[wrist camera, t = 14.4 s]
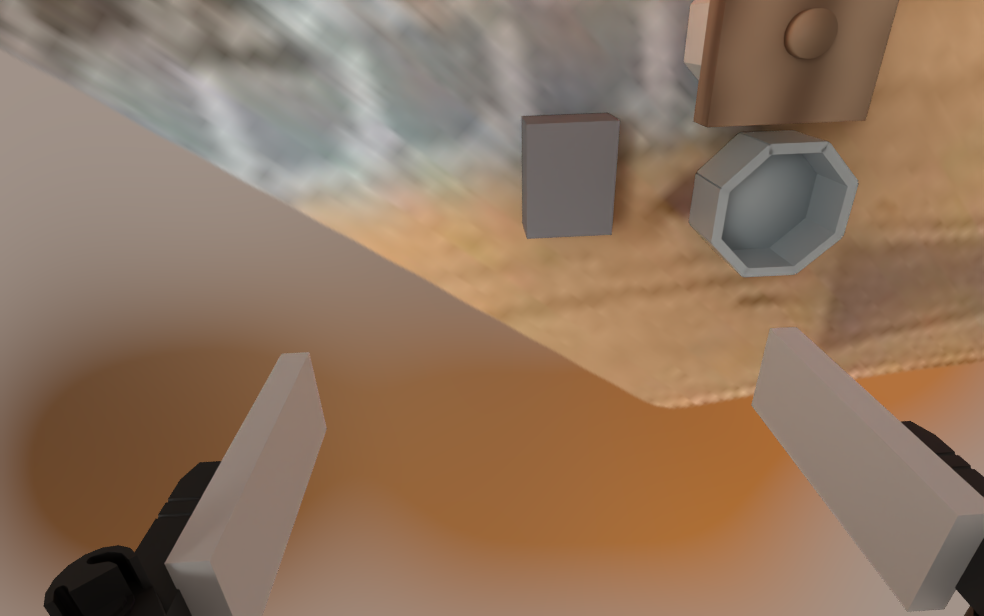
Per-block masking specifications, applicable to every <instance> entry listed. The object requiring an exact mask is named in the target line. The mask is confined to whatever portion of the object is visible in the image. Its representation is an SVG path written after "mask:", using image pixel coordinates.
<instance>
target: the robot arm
mask: <svg viewBox="0 0 984 616" xmlns="http://www.w3.org/2000/svg"><path fill="white" fill-rule="evenodd" d="M752 406H753V408H754V409H755V410H756V412H757V413H758V414H759V416H760V417H761V418H762V420H763V421H764V422H765V424H766V425H767V426H768V428H769V429H770V430H771V431H772V433H773V434H774V436H775V437H776V438H777V440H778V441H779V442H780V443H781V445H782V446H783V448H784V449H785V450H786V452H787V453H788V454H789V456H790V457H791V458H792V459H793V461H794V462H795V464H796V465H797V466H798V468H799V469H800V470H801V472H802V473H803V474H804V476H805V477H806V478H807V480H808V481H809V482H810V484H811V485H812V486H813V487H814V489H815V490H816V491H817V493H818V494H819V495H820V497H821V498H822V499H823V501H824V502H825V503H826V505H827V506H828V507H829V509H830V510H831V511H832V513H833V514H834V515H835V517H836V518H837V519H838V521H839V522H840V523H841V525H842V526H843V527H844V529H845V530H846V531H847V533H848V534H849V535H850V536H851V538H852V539H853V541H854V542H855V543H856V544H857V546H858V547H859V548H860V550H861V551H862V552H863V554H864V555H865V556H866V558H867V559H868V560H869V562H870V563H871V564H872V566H873V567H874V568H875V570H876V571H877V572H878V574H879V575H880V576H881V577H882V579H883V580H884V582H885V583H886V584H887V586H888V587H889V588H890V590H891V591H892V592H893V594H894V595H895V596H896V598H897V599H898V600H899V602H900V603H901V604H902V606H903V607H904V608H905V610H906V611H907V612H910V611H925V610H941V609H945V607H946V606H947V604H948V602H949V600H950V599H951V597H952V595H953V594H954V592H955V590H957V591H958V592H959V593H960V594H961V595H962V597H963V598H964V599H965V600H966V601H967V602H968V603H969V605H970V607H969V608H968V610H967V612H966V613H965V615H964V616H984V477H983V476H982V475H981V474H980V473H978V472H977V471H976V470H975V469H971V466H970V465H969V464H968V463H967V462H966V461H965V460H964V459H962V458H961V457H960V456H958V455H955V452H954V451H953V450H952V449H951V448H950V447H949V446H947V445H946V444H945V443H944V442H943V441H942V440H941V439H939V438H938V437H937V436H936V435H934V434H933V433H931V432H929V431H927V430H925V429H924V428H922V427H920V426H918V425H917V424H915V423H913V422H911V421H903V422H900V421H899V420H898V419H897V418H896V417H894V416H893V415H892V414H891V413H890V412H889V411H888V410H887V409H886V408H884V406H882V405H881V404H880V403H879V402H878V401H877V400H876V399H875V398H874V397H873V396H871V395H870V394H869V393H868V392H867V391H866V390H865V389H864V388H863V387H862V386H861V385H859V384H858V383H857V382H856V381H855V380H854V379H853V378H852V377H851V376H850V375H848V374H847V373H846V372H845V371H844V370H843V369H842V368H841V367H840V366H839V365H837V364H836V363H835V362H834V361H833V360H832V359H831V358H830V357H829V356H828V355H827V354H825V353H824V352H823V351H822V350H821V349H820V348H819V347H818V346H817V345H816V344H814V343H813V342H812V341H811V340H810V339H809V338H808V337H807V336H806V335H805V334H803V333H802V332H801V331H800V330H799V329H798V328H797V327H787V328H770V331H769V335H768V339H767V343H766V347H765V351H764V355H763V360H762V364H761V368H760V372H759V376H758V380H757V384H756V389H755V393H754V397H753V401H752ZM325 432H326V424H325V420H324V415H323V411H322V406H321V402H320V398H319V394H318V389H317V384H316V380H315V376H314V371H313V367H312V363H311V358H310V354H309V352H305V353H286V354H281V356H280V358H279V360H278V361H277V363H276V365H275V367H274V368H273V370H272V372H271V374H270V376H269V377H268V379H267V381H266V383H265V385H264V386H263V388H262V390H261V392H260V393H259V395H258V397H257V399H256V401H255V402H254V404H253V406H252V408H251V409H250V412H249V413H248V415H247V417H246V419H245V420H244V422H243V424H242V426H241V427H240V429H239V431H238V433H237V435H236V436H235V438H234V440H233V442H232V444H231V446H230V447H229V449H228V451H227V452H226V454H225V456H224V458H223V460H222V461H216V462H200V463H199V464H197V465H196V466H195V467H194V468H193V469H192V470H191V471H189V472H188V473H187V474H186V475H185V476H184V477H183V478H182V479H180V481H179V482H178V484H177V486H176V487H175V489H174V490H173V492H172V494H171V495H170V497H169V498H168V503H165V505H164V506H163V508H162V510H161V511H160V513H159V514H158V516H159V517H158V519H155V521H154V522H153V524H152V526H151V527H150V529H149V530H148V532H147V534H146V535H145V537H144V538H143V540H142V541H141V543H140V545H139V546H138V548H137V549H136V551H135V553H134V552H133V550H132V549H131V548H128V547H124V546H119V545H117V546H111V547H104V548H101V549H98V550H95V551H93V552H91V553H88V554H85V555H84V556H82V557H81V558H79V559H78V560H76V561H75V562H73V563H71V564H70V565H68V566H67V567H66V568H65V569H64V570H63V571H62V572H61V573H60V574H59V575H58V576H57V577H56V578H55V579H54V580H53V582H52V584H51V585H50V587H49V588H48V590H47V591H46V593H45V600H44V607H45V609H46V610H47V612H48V613H49V615H50V616H262V615H263V612H264V609H265V606H266V603H267V601H268V597H269V595H270V592H271V589H272V586H273V583H274V580H275V577H276V574H277V571H278V569H279V565H280V563H281V560H282V557H283V554H284V551H285V548H286V545H287V542H288V540H289V537H290V534H291V530H292V528H293V525H294V522H295V519H296V516H297V513H298V510H299V508H300V505H301V502H302V499H303V496H304V493H305V490H306V487H307V484H308V481H309V478H310V475H311V473H312V470H313V467H314V464H315V461H316V458H317V455H318V452H319V449H320V446H321V443H322V441H323V438H324V435H325Z"/></svg>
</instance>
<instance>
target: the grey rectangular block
mask: <svg viewBox="0 0 984 616" xmlns="http://www.w3.org/2000/svg"><path fill="white" fill-rule="evenodd" d="M619 129H620V120H619V119H617V118H615V117H614V116H612V115H611V114H609V113H588V114H565V115H541V116H522V223H523V227H524V230H525V234H526V237H527V239H531V238H552V237H574V236H595V235H612V223H613V209H614V196H615V183H616V169H617V156H618V143H619Z"/></svg>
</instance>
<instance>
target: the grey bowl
mask: <svg viewBox="0 0 984 616" xmlns="http://www.w3.org/2000/svg"><path fill="white" fill-rule="evenodd" d="M697 173H698V174H696V175H695V182H694V189H693V196H692V203H691V209H690V216H689V223H690V226H691V227H692V228H693V229H694V230H695V231H696V232H697V233H698V234H699V235H700V236H701V237H702V238H703V239H704V240H705V242H706V243H707V244H708V245H709V246H710V247H711V248H712V249H713V250H714V251H715V252H716V253H717V254H718V255H719V256H720V257H721V258H722V259H723V260H724V261H725V262H726V263H728V264H729V265H730V266H731V267H732V268H733V269H734V270H735V271H736V272H737V273H739V274H740V275H741V276H743V277H757V276H778V275H795V273H796V274H797V273H798V272H799V271H801V270H802V269H803V268H805V267H806V266H807V265H808V264H810V263H811V262H812V261H813V260H815V259H816V258H817V257H818V256H820V255H821V254H822V253H824V252H825V251H826V250H827V249H829V248H830V247H831V246H832V245H834V244H835V243H836V242H837V241H839V240H840V239H841V238H842V237H841V236H844V232H845V229H846V225H847V222H848V218H849V215H850V211H851V208H852V205H853V201H854V198H855V194H856V191H857V187H858V184H859V183H857V182H858V180H857V179H856V177H855V176H854V175H853V173H852V172H851V170H850V169H849V168H848V166H847V165H846V164H845V162H844V161H843V160H842V158H841V157H840V155H839V154H838V153H837V151H836V150H835V149H834V147H833V146H832V145H831V143H830V142H828V141H825V140H822V139H819V138H816V137H813V136H809V135H806V134H803V133H800V132H797V131H794V130H782V131H759V132H740V133H738V134H737V135H736V136H735V137H734V138H733V139H732V140H731V141H730V142H729V143H727V144H726V145H725V146H724V147H723V148H722V149H721V150H720V151H719V152H718V153H717V154H716V155H714V156H713V157H712V158H711V159H710V160H709V161H708V162H707V163H706V164H705V165H704V166H703V167H701V168H700V169H699V170H698V171H697Z"/></svg>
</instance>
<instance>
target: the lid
mask: <svg viewBox="0 0 984 616" xmlns="http://www.w3.org/2000/svg"><path fill="white" fill-rule="evenodd" d="M898 2H899V0H710V3H709V10H708V18H707V25H706V32H705V40H704V47H703V55H702V62H701V69H700V77H699V84H698V91H697V99H696V106H695V113H694V121H693V122H696V123H698V124H701V125H703V126H705V127H725V126H749V125H772V124H795V123H819V122H842V121H865V120H866V117H867V113H868V110H869V106H870V102H871V99H872V95H873V92H874V88H875V84H876V81H877V77H878V74H879V70H880V67H881V63H882V59H883V56H884V52H885V49H886V45H887V41H888V38H889V34H890V31H891V27H892V24H893V20H894V16H895V13H896V9H897V6H898Z"/></svg>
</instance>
